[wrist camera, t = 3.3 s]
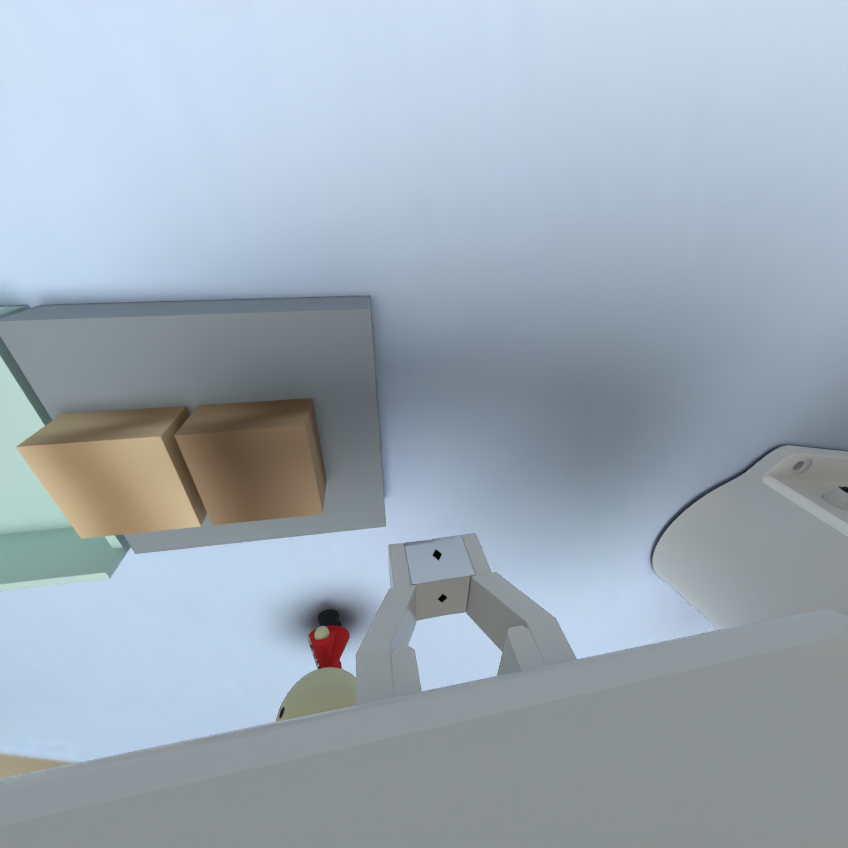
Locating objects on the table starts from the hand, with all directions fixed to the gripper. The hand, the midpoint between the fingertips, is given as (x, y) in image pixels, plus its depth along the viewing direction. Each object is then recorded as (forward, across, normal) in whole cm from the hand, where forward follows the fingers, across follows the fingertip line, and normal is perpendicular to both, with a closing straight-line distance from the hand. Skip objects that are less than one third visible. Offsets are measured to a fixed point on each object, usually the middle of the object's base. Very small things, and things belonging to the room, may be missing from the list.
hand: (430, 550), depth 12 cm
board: (+10, +8, 0) cm, 13 cm away
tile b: (+8, +7, 0) cm, 10 cm away
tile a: (+8, +12, 0) cm, 15 cm away
